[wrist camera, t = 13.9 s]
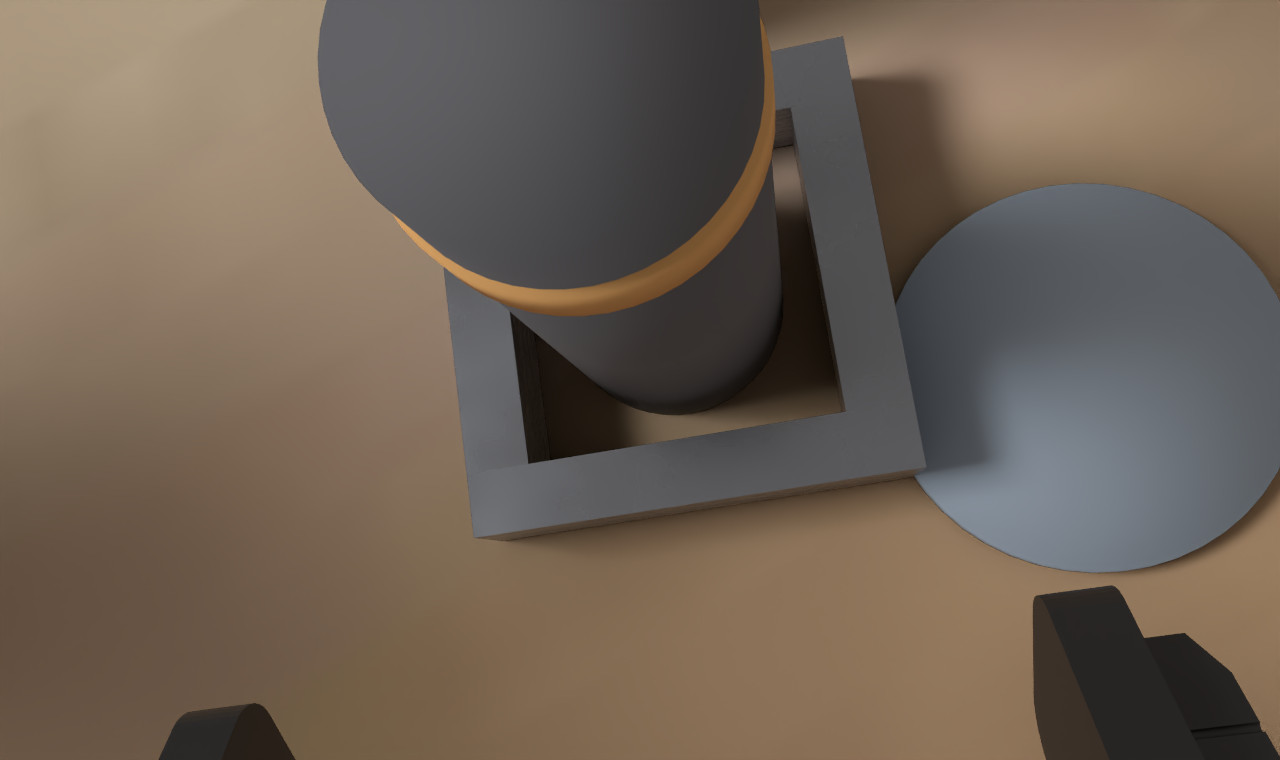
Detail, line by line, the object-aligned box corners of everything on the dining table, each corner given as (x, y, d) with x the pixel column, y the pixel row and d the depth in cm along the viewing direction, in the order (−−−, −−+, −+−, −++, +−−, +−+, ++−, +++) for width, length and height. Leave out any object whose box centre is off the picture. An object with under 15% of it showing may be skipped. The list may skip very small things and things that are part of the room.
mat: (805, 411, 24) (805, 408, 23) (1032, 119, 24) (1035, 112, 24) (1133, 656, 22) (1139, 658, 21) (1376, 336, 22) (1385, 332, 22)
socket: (501, 541, 24) (473, 537, 22) (457, 157, 26) (427, 123, 24) (918, 475, 23) (926, 467, 21) (841, 78, 25) (842, 36, 23)
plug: (519, 335, 25) (221, 105, 12) (648, 156, 25) (489, -255, 12) (699, 464, 24) (580, 359, 11) (833, 276, 24) (865, -38, 11)
